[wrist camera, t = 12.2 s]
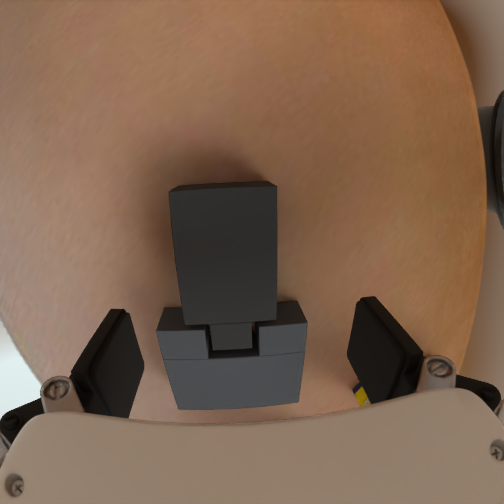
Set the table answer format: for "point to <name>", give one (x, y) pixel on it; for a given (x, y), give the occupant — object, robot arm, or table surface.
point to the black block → (226, 257)
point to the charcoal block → (234, 362)
